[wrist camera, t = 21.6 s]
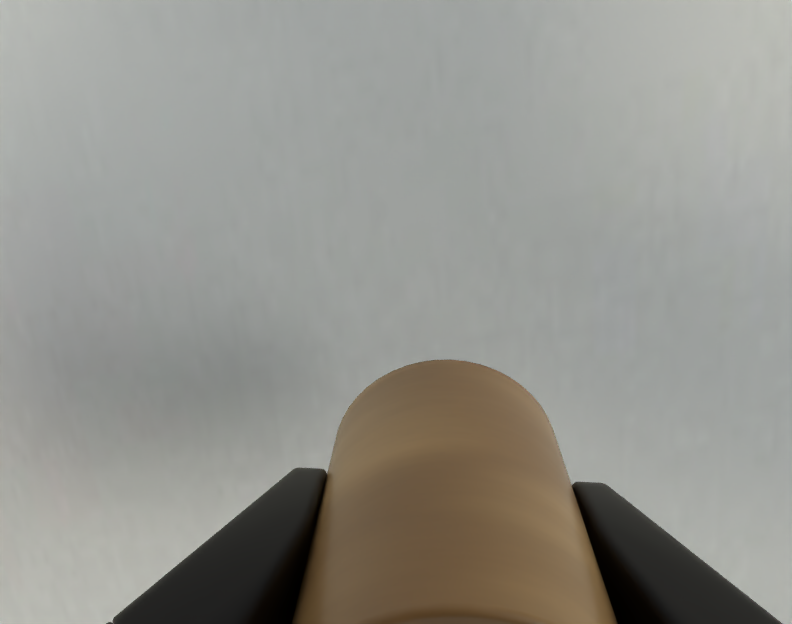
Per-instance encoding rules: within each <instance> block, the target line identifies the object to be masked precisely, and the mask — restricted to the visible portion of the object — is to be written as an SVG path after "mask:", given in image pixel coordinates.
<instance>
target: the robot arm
mask: <svg viewBox="0 0 792 624" xmlns="http://www.w3.org/2000/svg"><path fill="white" fill-rule="evenodd" d="M326 477H327V473H326V471H325V470H324V469H316V468H295V469H294V470H292V471H291V472H290V473H288V474H287V475H286V476H285V477H284V478H282V479H281V480H280V481H279V482H278V483H276V484H275V485H274V486H273V487H271V488H270V489H269V490H268V491H267V492H265V493H264V494H263V495H262V496H261V497H259V498H258V499H257V500H256V501H254V502H253V503H252V504H251V505H250V506H248V507H247V508H246V509H245V510H244V511H242V512H241V513H240V514H239V515H238V516H236V517H235V518H234V519H233V520H231V521H230V522H229V523H228V524H227V525H225V526H224V527H223V528H222V529H221V530H219V531H218V532H217V533H216V534H214V535H213V536H212V537H211V538H210V539H208V540H207V541H206V542H205V543H204V544H202V545H201V546H200V547H199V548H198V549H196V550H195V551H194V552H193V553H191V554H190V555H189V556H188V557H187V558H185V559H184V560H183V561H182V562H181V563H179V564H178V565H177V566H176V567H175V568H173V569H172V570H171V571H170V572H168V573H167V574H166V575H165V576H164V577H162V578H161V579H160V580H159V581H158V582H156V583H155V584H154V585H153V586H151V587H150V588H149V589H148V590H147V591H145V592H144V593H143V594H142V595H141V596H139V597H138V598H137V599H136V600H135V601H133V602H132V603H131V604H130V605H128V606H127V607H126V608H125V609H124V610H122V611H121V612H120V613H119V614H118V615H116V616H115V617H114V619H113V623H111V622H108V623H106V624H292V620H293V616H294V611H295V607H296V603H297V599H298V595H299V590H300V586H301V582H302V578H303V574H304V569H305V565H306V561H307V557H308V553H309V549H310V544H311V540H312V536H313V532H314V528H315V523H316V519H317V515H318V511H319V507H320V502H321V498H322V494H323V490H324V486H325V482H326ZM572 488H573V491H574V494H575V497H576V500H577V503H578V506H579V509H580V512H581V515H582V518H583V521H584V524H585V527H586V530H587V533H588V536H589V539H590V542H591V545H592V548H593V551H594V554H595V557H596V560H597V563H598V566H599V569H600V572H601V575H602V578H603V581H604V584H605V587H606V590H607V593H608V596H609V599H610V602H611V605H612V608H613V611H614V614H615V617H616V620H617V623H618V624H782V623H781V622H780V621H778V620H777V619H776V618H775V617H773V616H772V615H771V614H770V613H768V612H767V611H766V610H765V609H763V608H762V607H761V606H759V605H758V604H757V603H756V602H754V601H753V600H752V599H751V598H749V597H748V596H747V595H746V594H744V593H743V592H742V591H741V590H739V589H738V588H737V587H735V586H734V585H733V584H732V583H730V582H729V581H728V580H727V579H725V578H724V577H723V576H722V575H720V574H719V573H718V572H716V571H715V570H714V569H713V568H711V567H710V566H709V565H708V564H706V563H705V562H704V561H703V560H701V559H700V558H699V557H697V556H696V555H695V554H694V553H692V552H691V551H690V550H689V549H687V548H686V547H685V546H684V545H682V544H681V543H680V542H678V541H677V540H676V539H675V538H673V537H672V536H671V535H670V534H668V533H667V532H666V531H665V530H663V529H662V528H661V527H659V526H658V525H657V524H656V523H654V522H653V521H652V520H651V519H649V518H648V517H647V516H646V515H644V514H643V513H642V512H640V511H639V510H638V509H637V508H635V507H634V506H633V505H632V504H630V503H629V502H628V501H627V500H625V499H624V498H623V497H621V496H620V495H619V494H618V493H616V492H615V491H614V490H613V489H611V488H610V487H609V486H607V485H606V484H603V483H591V482H575V483H574V484H573V485H572Z"/></svg>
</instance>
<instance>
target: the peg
mask: <svg viewBox="0 0 792 624" xmlns="http://www.w3.org/2000/svg"><path fill="white" fill-rule="evenodd" d="M292 624H618V623H617V620H616V617H615V614H614V611H613V608H612V605H611V602H610V599H609V596H608V593H607V590H606V587H605V584H604V581H603V578H602V575H601V572H600V569H599V566H598V563H597V560H596V557H595V554H594V551H593V548H592V545H591V542H590V539H589V536H588V533H587V530H586V527H585V524H584V521H583V518H582V515H581V512H580V509H579V506H578V503H577V500H576V497H575V494H574V491H573V488H572V485H571V482H570V479H569V476H568V473H567V470H566V467H565V464H564V461H563V458H562V455H561V452H560V449H559V446H558V443H557V440H556V437H555V434H554V431H553V428H552V426H551V424H550V421H549V419H548V417H547V415H546V413H545V412H544V410H543V409H542V407H541V405H540V404H539V403H538V402H537V400H536V399H535V398H534V397H533V396H532V395H531V394H530V393H529V392H528V391H527V390H526V389H525V388H524V387H523V386H522V385H520V384H519V383H517V382H516V381H514V380H513V379H511V378H510V377H508V376H506V375H504V374H503V373H501V372H499V371H497V370H494V369H491V368H489V367H486V366H483V365H480V364H476V363H471V362H467V361H459V360H431V361H424V362H419V363H415V364H411V365H407V366H404V367H402V368H399V369H397V370H394V371H392V372H390V373H388V374H386V375H384V376H382V377H381V378H379V379H378V380H376V381H375V382H373V383H372V384H371V385H369V386H368V387H367V388H366V389H365V390H364V391H363V392H362V393H360V394H359V395H358V396H357V398H356V399H355V400H354V401H353V403H352V404H351V405H350V406H349V408H348V410H347V411H346V413H345V415H344V417H343V418H342V421H341V423H340V426H339V428H338V431H337V435H336V440H335V444H334V448H333V452H332V456H331V461H330V465H329V469H328V473H327V477H326V482H325V486H324V490H323V494H322V498H321V502H320V507H319V511H318V515H317V519H316V523H315V528H314V532H313V536H312V540H311V544H310V549H309V553H308V557H307V561H306V565H305V569H304V574H303V578H302V582H301V586H300V590H299V595H298V599H297V603H296V607H295V611H294V616H293V620H292Z"/></svg>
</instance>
